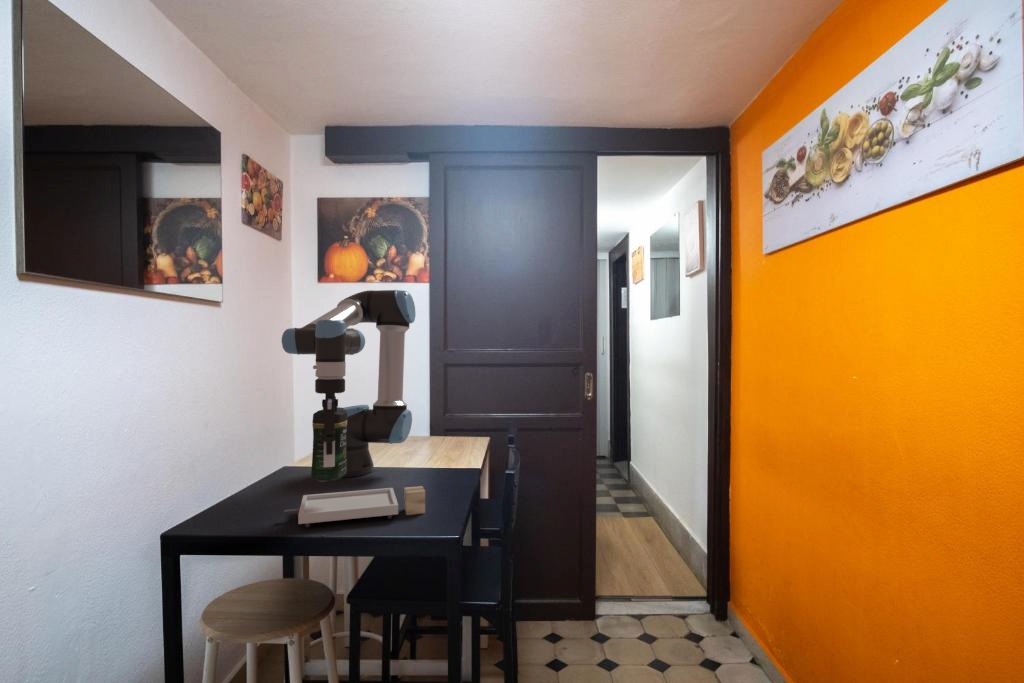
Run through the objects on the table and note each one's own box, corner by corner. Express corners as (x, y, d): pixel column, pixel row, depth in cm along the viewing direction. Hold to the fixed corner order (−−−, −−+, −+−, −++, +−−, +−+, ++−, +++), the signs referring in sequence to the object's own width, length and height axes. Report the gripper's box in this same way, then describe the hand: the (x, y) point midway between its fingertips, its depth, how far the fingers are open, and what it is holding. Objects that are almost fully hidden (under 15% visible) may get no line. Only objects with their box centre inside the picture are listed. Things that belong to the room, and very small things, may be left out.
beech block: (404, 509, 140) (404, 487, 140) (422, 507, 142) (422, 486, 142) (406, 515, 135) (406, 492, 135) (425, 513, 137) (425, 491, 137)
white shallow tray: (287, 511, 138) (287, 496, 138) (392, 501, 146) (392, 487, 146) (280, 532, 123) (280, 516, 123) (398, 520, 131) (398, 504, 131)
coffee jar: (337, 482, 129) (337, 410, 129) (307, 482, 130) (307, 410, 130) (351, 473, 139) (351, 405, 139) (322, 472, 139) (323, 405, 139)
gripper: (317, 375, 144) (316, 454, 144) (312, 381, 123) (312, 473, 123) (345, 375, 146) (344, 452, 146) (345, 380, 125) (344, 471, 125)
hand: (329, 462), depth 134 cm, fingers closed on coffee jar, 9 cm apart
